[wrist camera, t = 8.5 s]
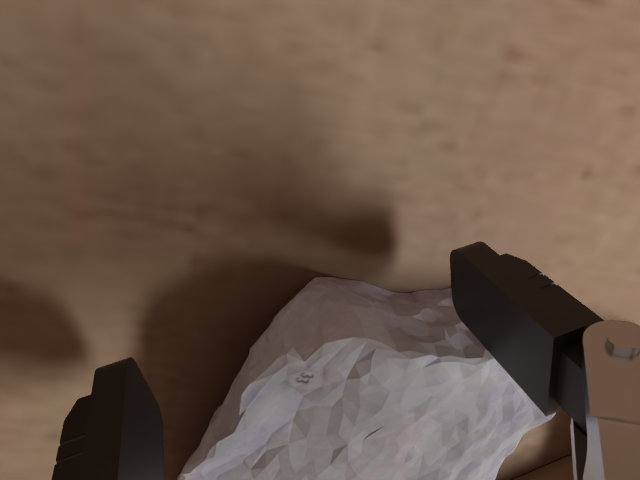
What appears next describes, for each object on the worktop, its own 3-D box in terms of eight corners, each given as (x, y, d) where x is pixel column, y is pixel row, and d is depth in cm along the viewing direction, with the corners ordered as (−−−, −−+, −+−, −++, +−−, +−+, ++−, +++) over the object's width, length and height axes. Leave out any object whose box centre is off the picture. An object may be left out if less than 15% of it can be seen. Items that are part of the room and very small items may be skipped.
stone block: (165, 498, 18) (405, 525, 20) (133, 644, 14) (443, 660, 16) (235, 215, 14) (527, 285, 16) (221, 295, 10) (624, 377, 12)
